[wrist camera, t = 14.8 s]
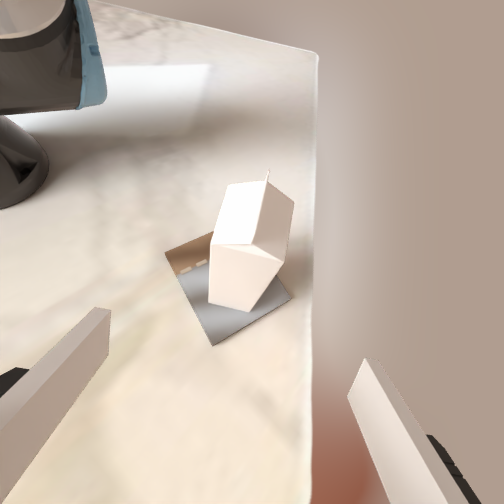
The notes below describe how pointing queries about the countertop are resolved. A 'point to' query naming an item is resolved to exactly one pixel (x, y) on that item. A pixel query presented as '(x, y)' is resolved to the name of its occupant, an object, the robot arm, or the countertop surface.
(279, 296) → the board
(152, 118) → the countertop surface
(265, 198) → the milk
